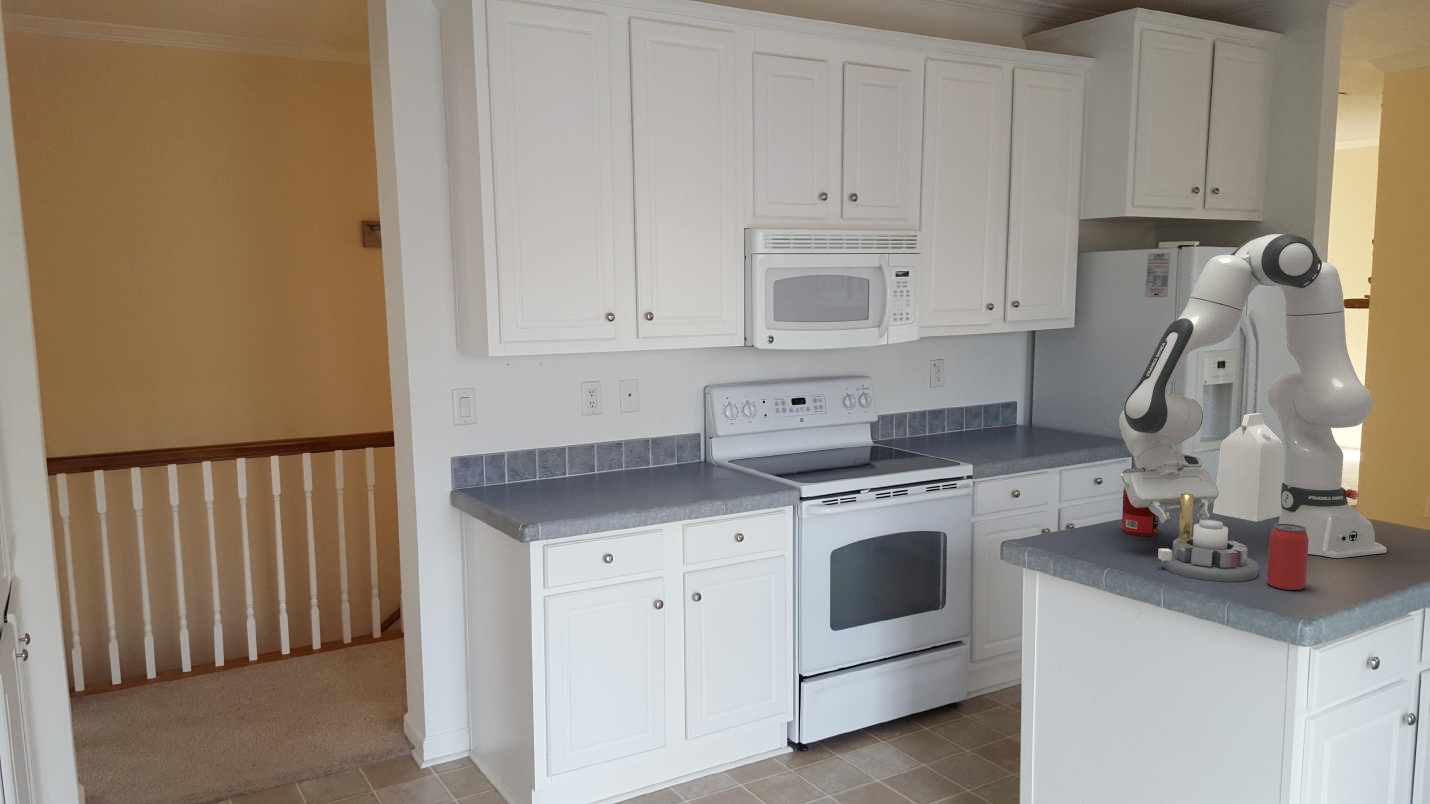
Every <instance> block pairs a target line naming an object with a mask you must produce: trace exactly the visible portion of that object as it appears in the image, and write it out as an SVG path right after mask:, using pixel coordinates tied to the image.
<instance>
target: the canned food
mask: <svg viewBox="0 0 1430 804" xmlns="http://www.w3.org/2000/svg"><path fill="white" fill-rule="evenodd" d="M1122 495H1123V496H1122V515H1121V516H1122V520H1121V529H1122V532H1124V533H1125V534H1128V535H1132V536H1139V537H1152V536H1156V535H1157V534H1158V531H1159V521H1160V519H1159V517H1158V516H1156V515H1155V514H1154V513H1153V512H1151V511H1150V509H1149V507H1140V508H1136V507H1134V506H1133V505H1132V504H1131V503H1130V501H1129V498H1128V495H1127V492H1126V488H1125V485H1123V491H1122Z"/></svg>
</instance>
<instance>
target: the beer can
mask: <svg viewBox="0 0 1430 804" xmlns="http://www.w3.org/2000/svg"><path fill="white" fill-rule="evenodd" d="M1308 542H1309V540H1308V535H1307V533H1306V528H1305V527H1303V526H1300V525H1295V524H1278V523H1276V524H1274V525H1273V529H1272V530H1271V532H1270V534H1269V544H1268V545H1269V546H1268V561H1267V563H1268V564H1267V575H1266V576H1267V579H1266V581H1267V584H1269V585H1270V586H1272V587H1273V588H1276V589H1279V590H1282V591H1283V590H1285V591H1300V590H1303V589H1305V587H1306V585H1307V569H1308V558H1309V557H1308V556H1309V554H1308Z"/></svg>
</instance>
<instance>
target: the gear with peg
mask: <svg viewBox="0 0 1430 804" xmlns="http://www.w3.org/2000/svg"><path fill="white" fill-rule="evenodd" d="M1193 503H1194V494H1190V493H1181V496H1180V505H1179V520H1178V522H1179V523H1178V537H1177V538H1175V539H1174V540H1173V541H1172V550H1173V555H1174V557H1175V558H1177V559H1179V560H1181V561H1183V562H1191V564H1195V565H1201V566H1207V567H1212V566H1213V565H1215V566H1217V567H1220V568H1226V567H1238V565H1240V566H1243V565H1244V564H1245V563H1246V562H1247V557H1248V546H1247V545H1246V544H1243V543H1240V542H1238V541H1235V540H1227V550H1210V549H1204V548H1197V547H1194V546H1193V523H1194V522H1193V520H1194V518H1193V516H1194V505H1193Z"/></svg>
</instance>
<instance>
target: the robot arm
mask: <svg viewBox="0 0 1430 804" xmlns="http://www.w3.org/2000/svg"><path fill="white" fill-rule="evenodd" d="M1260 285H1261V286H1264V287H1265V286H1267V287H1274V286H1276V287H1277V286H1278V287H1279V288H1280V289H1281V290H1282V293H1283V295H1284V299H1285V324H1286V325H1285V326H1286V327H1285V328H1286V329H1285V330H1286V331H1285V333H1286V347H1287V350H1288V352H1289V354H1290V355H1291V356H1292V358H1293V359H1294V360H1295V362H1296V363H1297V365H1298V368H1299V372H1293V373H1287V374H1283V375H1280V376H1278V377H1277V378H1276V379H1274V380H1273V381H1272V383H1271V384H1270V386H1269V388H1268V392H1267V400H1268V403H1269V405H1270V407H1271V408H1272V409H1273V411H1274V413H1275V414H1276V417H1277V418H1278V422H1279V426H1280V428H1281V432H1282V438H1283V443H1284V444H1283V445H1284V451H1285V452H1284V453H1285V454H1284V474H1283V483H1282V488H1281V506H1282V508H1281V514H1280V516H1279V518H1278V519H1279V520H1278V523H1277V524H1295V525H1300V526H1303V527H1305V528H1306V533H1307V535H1308V540H1309V542H1308V555H1315V556H1322V557H1328V558H1333V559H1342V558H1343V559H1344V558H1350V557H1352V558H1353V557H1359V556H1369V555H1378V554H1386V553H1387V552H1388V551H1387V547H1386V546H1384V545H1383V544H1381V543H1379V542H1377V541H1375V540H1376V539H1375V537H1376V536H1375V530H1374V529H1375V528H1374V526H1373V524H1372V522H1371V521H1370V520H1369V519H1368V518H1366V517H1365V516H1364V515H1362V513H1360V512H1358V511H1357V510H1356V509H1355V508H1354V507H1352V506H1351V505H1350V504H1349V502H1348V499H1351V500H1357V499H1358V498H1359V496H1360V492H1358V491H1357V490H1355V489H1354V490H1353V489H1350V488H1349V489H1345V488H1344V487H1343V486H1342V483H1343V471H1344V470H1343V466H1344V453H1343V449H1342V448H1341V447H1340V446H1339V445H1338V443H1337V442H1336V439H1335V437H1334V434H1333V431H1332V429H1344V428H1345V429H1346V428H1353V427H1357V426H1359V425H1362V424H1363V423H1364V422H1365V421H1366V420H1368V418H1369V416H1370V415H1371V412H1372V410H1373V402H1374V401H1373V397H1372V394H1371V392H1370V391H1369V390H1368V388H1367V387H1366V386H1365V385H1364V384H1363V383H1362V382H1361V380H1360V378H1359V377H1358V375H1357V373H1356V371H1355V368H1354V366H1353V363H1352V360H1351V358H1350V354H1349V350H1348V346H1347V338H1346V336H1347V335H1346V321H1345V318H1346V317H1345V300H1344V293H1343V287H1342V282H1341V278H1340V274H1339V271H1338V269H1337V268H1336V267H1335V265H1333V264H1331V263H1329V262H1325V261H1322V260H1321V258H1320V257H1319V256H1318V252H1317V250H1316V248H1315V247H1314V245H1313V243H1312V242H1310V240H1308V239H1307V238H1305V237H1303V236H1300V235H1299V234H1298V235H1297V234H1291V233H1290V234H1289V233H1287V234H1286V233H1285V234H1284V233H1275V234H1274V233H1272V234H1267V235H1264V236H1255V237H1253V238H1250V239H1248V240H1246V241H1244V242H1243V243H1242V244H1240V245H1239V246H1238V247H1237V248H1236V250H1234V251H1233V252H1232V253H1231V254H1220V255H1215V256H1213V257H1211V258H1210V259H1209V260H1208V261H1207V262H1206V264H1205V266H1204V267H1203V269H1202V271H1201V272H1200V274H1199V276H1198V278H1197V280H1196V282H1195V283H1194V286H1193V289H1192V291H1191V294H1190V296H1189V298H1188V301H1187V303H1186V306H1185V308H1184V309H1183V311H1182V312H1181V314H1180V315H1179V317H1178V318H1177V319H1176V320H1175V321H1172V323H1170V325H1169V326H1168V327H1167V328H1166V330H1165V331H1164V332H1163V335H1162V337H1161V339H1160V340H1159V342H1158V344H1157V346H1156V348H1155V349H1154V352H1153V354H1152V356H1151V358H1150V360H1149V362H1148V364H1147V366H1146V368H1145V370H1144V372H1143V374H1142V376H1141V377H1140V379H1139V381H1138V383H1137V384H1136V385H1135V386H1134V388H1133V389H1132V391H1131V392H1130V393H1129V394H1128V396H1127V397H1126V400H1125V402H1124V405H1123V410H1122V412H1121V413H1120V414H1119V417H1118V425H1119V429H1120V433H1121V436H1122V438H1123V442H1124V443H1125V445H1126V448H1127V450H1128V451H1129V452H1130V453H1131V455H1133V459H1134V464H1135V467H1136V468H1125V469H1124V470H1122V472H1121V474H1120V478H1121V480H1122V482H1123V485H1124V486H1125V488H1126V492H1127V495H1128V498H1129V501H1130V503H1131V504H1132V505H1133V506H1134V507H1136V508H1140V507H1149V509H1150V511H1151V512H1153V513H1154V514H1155V515H1156V516H1158V517H1159V521H1160V523H1161V524H1164V523H1166V524H1167V523H1169V522H1170V521H1171V519H1172V518H1171V516H1170V513H1169V511H1164V510H1163V509H1162V508H1161V507H1174V506H1176V507H1178V506H1179V507H1180V496H1181V493H1190V494H1194V503H1193V506H1195V505H1196V508H1197V509H1200V510H1199V512H1198V513H1197V514H1196V515H1197V518H1198V519H1199V521H1200V520H1210V518H1211V517H1210V516H1211V515H1210V513H1209V511H1208V508H1209V505H1211V504H1213V503H1214V501H1215V499H1216V498H1217V497H1218V495H1219V491H1218V488H1217V486H1216V483H1215V481H1214V479H1213V478H1212V476H1211V475H1210V473H1209V472H1208V471H1207V469H1205V468H1203V467H1202V466H1203V461H1202V459H1201V458H1200V457H1197V456H1193V455H1189V454H1185V453H1183V452H1179V451H1177V450H1176V449H1175V448H1174V446H1175V445H1177V444H1180V443H1182V442H1184V441H1186V440H1188V439H1190V438H1191V437H1193V436H1194V435H1195V434H1197V433H1198V432H1199V430H1200V428H1201V427H1202V424H1203V419H1204V415H1203V409H1202V407H1201V405H1200V404H1199V402H1197V401H1196V400H1195V399H1192V398H1189V397H1186V396H1183V395H1181V394H1180V395H1179V394H1176V393H1171V392H1169V389H1170V386H1171V385H1172V384H1171V383H1172V381H1173V380H1174V378H1175V376H1176V374H1177V372H1178V371H1179V368H1180V367H1181V364H1182V363H1183V360H1185V358H1186V356H1188V354H1190V353H1191V352H1193V351H1195V350H1197V349H1200V348H1204V347H1209V346H1214V345H1217V344H1220V343H1222V342H1224V341H1226V340H1227V339H1229V338H1231V336H1232V335H1233V333H1234V332H1235V331H1236V328H1237V327H1238V325H1239V323H1240V321H1241V317H1242V316H1243V315H1242V314H1243V312H1244V310H1245V306H1246V304H1247V300H1248V298H1249V296H1250V294H1251V293H1252V292H1253V290H1254V289H1255V288H1256V287H1257V286H1260Z"/></svg>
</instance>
